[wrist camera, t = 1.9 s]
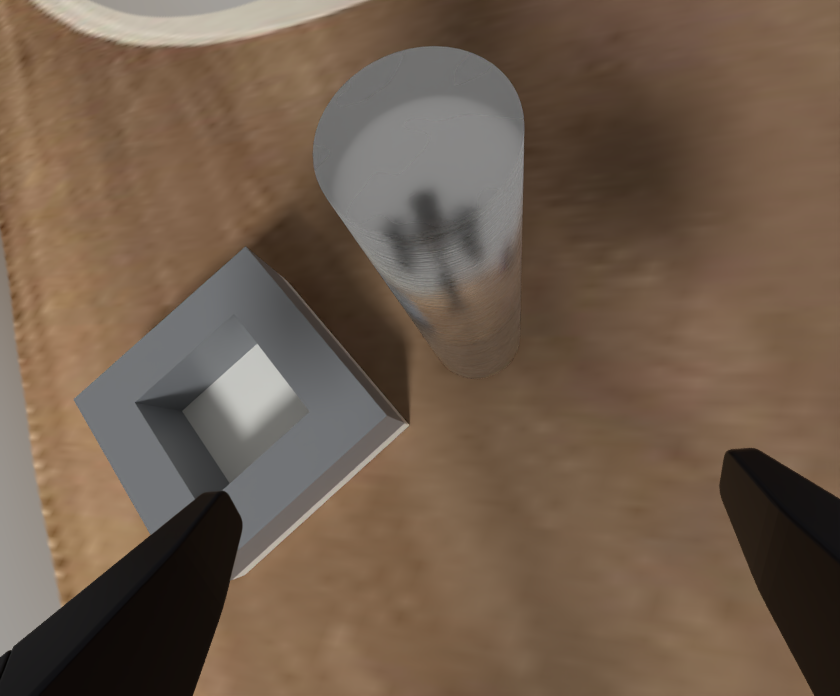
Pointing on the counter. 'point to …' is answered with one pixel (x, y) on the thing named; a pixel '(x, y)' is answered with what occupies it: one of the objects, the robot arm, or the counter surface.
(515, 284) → the steel pin
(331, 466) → the socket block
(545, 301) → the counter surface
